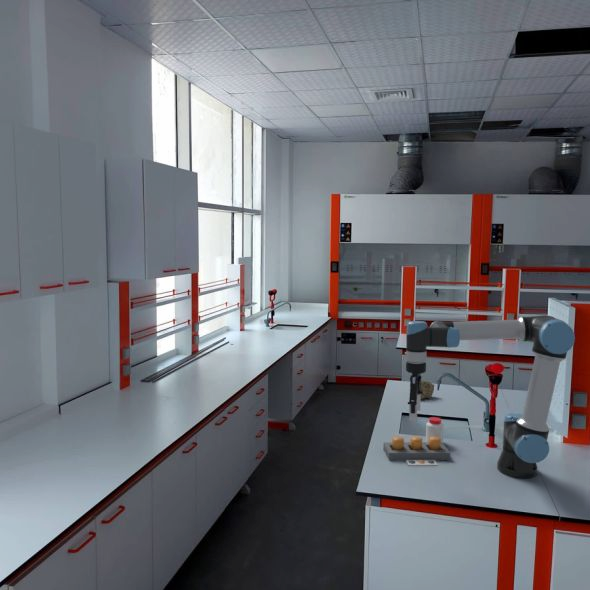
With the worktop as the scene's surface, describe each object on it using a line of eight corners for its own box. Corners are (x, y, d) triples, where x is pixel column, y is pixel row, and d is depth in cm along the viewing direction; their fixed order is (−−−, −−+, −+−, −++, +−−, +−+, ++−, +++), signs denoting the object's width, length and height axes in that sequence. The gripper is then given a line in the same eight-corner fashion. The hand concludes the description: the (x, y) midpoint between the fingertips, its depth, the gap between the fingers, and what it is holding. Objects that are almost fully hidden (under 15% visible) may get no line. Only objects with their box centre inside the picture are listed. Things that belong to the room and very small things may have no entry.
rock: (410, 384, 332) (415, 379, 323) (431, 385, 332) (436, 380, 323) (411, 402, 327) (416, 397, 318) (432, 403, 328) (437, 399, 319)
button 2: (438, 446, 243) (438, 436, 243) (441, 450, 238) (442, 440, 238) (427, 446, 243) (427, 436, 242) (430, 450, 238) (430, 440, 238)
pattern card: (434, 460, 234) (434, 459, 234) (437, 465, 229) (437, 464, 229) (405, 460, 233) (405, 459, 233) (408, 465, 228) (408, 464, 228)
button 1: (402, 446, 243) (402, 436, 242) (404, 450, 238) (405, 440, 237) (390, 446, 242) (391, 436, 242) (393, 451, 237) (393, 440, 237)
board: (441, 448, 247) (441, 442, 247) (449, 459, 235) (450, 452, 235) (383, 449, 246) (383, 442, 246) (388, 459, 234) (388, 453, 234)
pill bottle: (430, 437, 260) (431, 415, 259) (445, 441, 255) (446, 418, 254) (422, 442, 254) (423, 419, 253) (438, 446, 249) (439, 423, 248)
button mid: (420, 446, 243) (420, 436, 242) (423, 450, 238) (423, 440, 237) (408, 446, 243) (409, 436, 242) (411, 450, 238) (412, 440, 237)
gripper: (409, 354, 226) (408, 405, 228) (401, 368, 202) (400, 424, 204) (428, 355, 223) (427, 406, 225) (423, 369, 200) (421, 426, 202)
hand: (414, 415), depth 215 cm, fingers open, 13 cm apart
